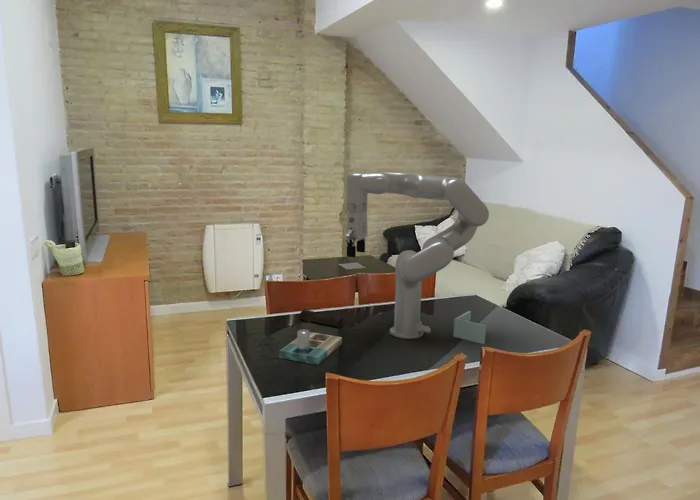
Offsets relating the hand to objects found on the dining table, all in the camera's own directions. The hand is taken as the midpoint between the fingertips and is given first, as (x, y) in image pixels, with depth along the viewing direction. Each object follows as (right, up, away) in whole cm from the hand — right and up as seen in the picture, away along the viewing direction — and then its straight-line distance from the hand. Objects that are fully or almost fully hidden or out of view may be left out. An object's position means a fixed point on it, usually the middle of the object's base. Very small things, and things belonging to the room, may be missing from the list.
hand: (355, 254), depth 191 cm
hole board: (-15, -33, -12) cm, 38 cm away
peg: (-18, -34, -17) cm, 42 cm away
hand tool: (-14, -28, +16) cm, 35 cm away
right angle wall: (+45, -31, +6) cm, 55 cm away
